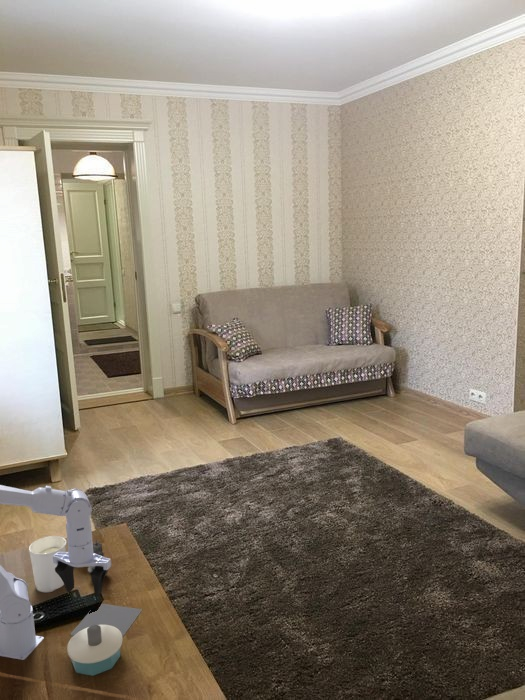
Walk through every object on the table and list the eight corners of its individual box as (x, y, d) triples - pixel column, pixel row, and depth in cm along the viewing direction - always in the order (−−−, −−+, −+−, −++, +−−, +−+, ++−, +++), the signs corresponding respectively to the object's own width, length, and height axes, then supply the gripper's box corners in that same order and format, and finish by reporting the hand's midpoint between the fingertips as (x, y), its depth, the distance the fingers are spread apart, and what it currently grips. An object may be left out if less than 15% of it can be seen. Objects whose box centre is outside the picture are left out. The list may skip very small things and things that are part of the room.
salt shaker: (104, 586, 165) (101, 546, 163) (84, 584, 167) (81, 544, 164) (113, 574, 171) (110, 535, 169) (94, 572, 172) (91, 534, 170)
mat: (69, 637, 145) (69, 634, 145) (97, 604, 157) (97, 602, 157) (118, 644, 142) (118, 642, 141) (142, 611, 154) (142, 609, 154)
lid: (57, 659, 131) (55, 643, 131) (85, 624, 143) (83, 609, 142) (106, 667, 129) (105, 650, 128) (131, 631, 140) (130, 616, 139)
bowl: (64, 672, 133) (62, 656, 132) (88, 642, 142) (86, 628, 142) (105, 680, 130) (104, 663, 130) (126, 649, 140) (125, 634, 139)
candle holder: (25, 590, 164) (20, 550, 162) (50, 571, 173) (46, 533, 171) (53, 597, 161) (49, 556, 158) (77, 578, 170) (73, 539, 167)
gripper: (115, 535, 145) (119, 586, 148) (62, 529, 149) (67, 579, 152) (100, 550, 139) (105, 603, 141) (45, 543, 142) (51, 595, 145)
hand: (84, 591), depth 146 cm, fingers open, 7 cm apart
